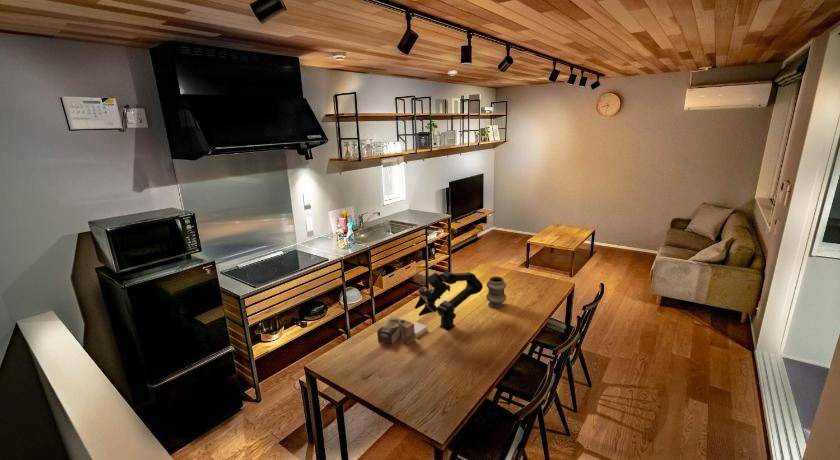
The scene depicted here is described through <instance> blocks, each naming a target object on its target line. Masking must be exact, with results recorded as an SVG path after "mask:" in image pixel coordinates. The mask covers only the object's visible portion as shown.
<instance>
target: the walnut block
mask: <svg viewBox="0 0 840 460" xmlns="http://www.w3.org/2000/svg"><path fill="white" fill-rule="evenodd" d="M405 321H406V322H404V323H403V324H401V335H400V336H401V342H402V341H403V343H404V342H405V344H406V343H407V345H410V344H412V343H413V342H415V341H416V337H415V332H414V324H413V323H414V322H411V321H408V320H405ZM414 340H415V341H414ZM411 342H412V343H411Z"/></svg>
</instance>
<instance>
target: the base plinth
mask: <svg viewBox="0 0 840 460" xmlns="http://www.w3.org/2000/svg"><path fill="white" fill-rule="evenodd" d="M412 323H413V324H414V332H415V338H418V337H419V335H420V336H422V335H424V334H425V333H426V332H427V331H428V326H427V325H424V324H422V323H419V322H417V321H413V322H412Z"/></svg>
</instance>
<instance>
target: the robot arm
mask: <svg viewBox="0 0 840 460" xmlns="http://www.w3.org/2000/svg"><path fill="white" fill-rule="evenodd" d="M426 282H427V284H429V285H430V286H431V287H432V288H430V289H429V288H426V287H424V286H419V289H418V293H419V294H418V297H419V298H418V301H417V302H416V304H415V305H414V309H415V310H417V309H419V308H421V307H423V306H424V307H423V308H422V310H421V311H420V312H419V313H418V316H419V317H421V316H425V315H427V314H431V313H434V314H435V313H436V312H437V314H438V316H440V317H441V318H440V325H439V328H442V329H444V330H446V331H450V330H451V329H453V328H454V327H455V326H456V324H454V320H455V319H456V317H457V314H456V313H455V309H456V308H458V306H459V305H461V304H462V303H463V302H464V301H465V300H467V299H468V298H469V297H470V296H472V295H476V294H478V293H481V291H482V290H483V282H481V281H480V280H479V278H477V275H475V274H474V273H472V272H454V273H453V272H450V271H443V272H442V273H440V274H438V273H437V272H434V273H433V274H430V275H429V276H428V277H427V278H426ZM457 282H466V287H465V288H464V289H463V290H461V291H460V292H459V293H457V294H456V295H455V296H454V297H453V298H452V299H450V300H449V301H447V300H443V301H442V302H441V303H439V305H438V306H437V305H436V301H437V300H440V299H441V297H442V296H443V295H444V294H445V293H446V292H447V291H448V292H450V291H451V286H450V285H454V284H456V283H457Z"/></svg>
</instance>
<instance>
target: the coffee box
mask: <svg viewBox="0 0 840 460" xmlns="http://www.w3.org/2000/svg"><path fill="white" fill-rule="evenodd" d="M406 321H407V320H406V319H404V318H403V319H402V318H398V317H394V316H390V318H389V319H388V320H386V322H385V323H383V324H382V326H381V327H380V328H379V329H377V331H376V333H377V341H378V342H383V343H386V344H390V345H393V344H394V342H395V341H396V340H398V338H399V337H400V336H401V324H403V323H404V322H406Z"/></svg>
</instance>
